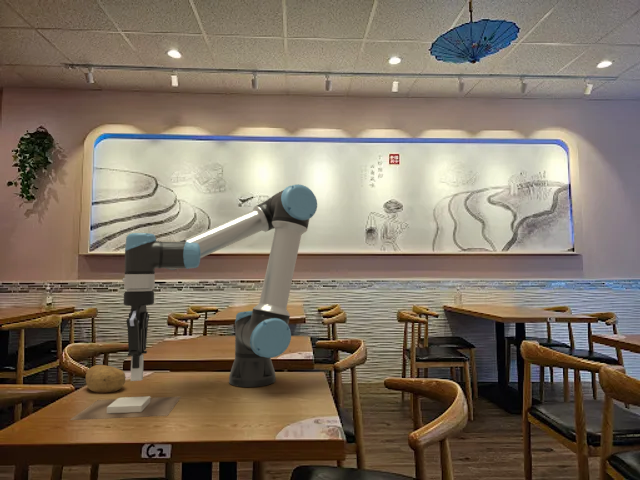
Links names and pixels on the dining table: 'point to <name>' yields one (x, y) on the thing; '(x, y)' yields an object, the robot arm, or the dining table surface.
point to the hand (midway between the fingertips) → (136, 379)
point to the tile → (128, 404)
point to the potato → (105, 378)
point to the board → (154, 408)
